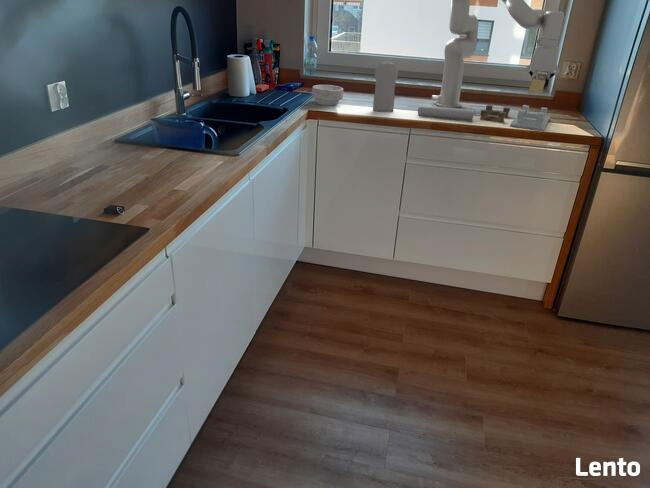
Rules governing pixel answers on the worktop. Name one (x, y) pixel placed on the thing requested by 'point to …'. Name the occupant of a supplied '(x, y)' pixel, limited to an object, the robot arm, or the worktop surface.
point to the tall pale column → (385, 87)
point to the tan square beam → (538, 83)
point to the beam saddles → (494, 114)
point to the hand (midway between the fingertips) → (538, 87)
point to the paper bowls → (327, 94)
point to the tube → (446, 113)
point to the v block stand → (531, 119)
